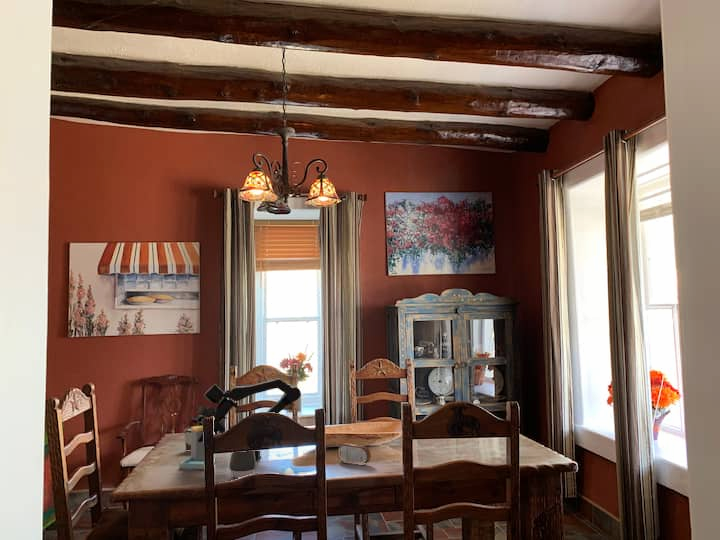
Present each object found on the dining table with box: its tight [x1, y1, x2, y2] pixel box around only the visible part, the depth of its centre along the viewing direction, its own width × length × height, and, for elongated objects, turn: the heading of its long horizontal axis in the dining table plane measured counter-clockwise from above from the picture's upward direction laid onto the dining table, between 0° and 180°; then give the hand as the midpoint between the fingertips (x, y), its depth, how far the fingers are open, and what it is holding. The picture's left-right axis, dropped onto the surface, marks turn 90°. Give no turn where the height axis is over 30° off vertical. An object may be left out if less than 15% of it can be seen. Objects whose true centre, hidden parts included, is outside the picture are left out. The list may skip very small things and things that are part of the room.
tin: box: [336, 442, 372, 464], centre depth 222 cm, size 15×3×8 cm, turn 65°
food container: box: [183, 427, 192, 451], centre depth 243 cm, size 12×6×10 cm, turn 84°
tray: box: [179, 456, 217, 470], centre depth 217 cm, size 11×11×2 cm
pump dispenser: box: [229, 451, 257, 479], centre depth 203 cm, size 10×10×15 cm
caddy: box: [190, 425, 204, 459], centre depth 218 cm, size 5×5×12 cm
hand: (196, 440), depth 217 cm, fingers closed on caddy, 5 cm apart
